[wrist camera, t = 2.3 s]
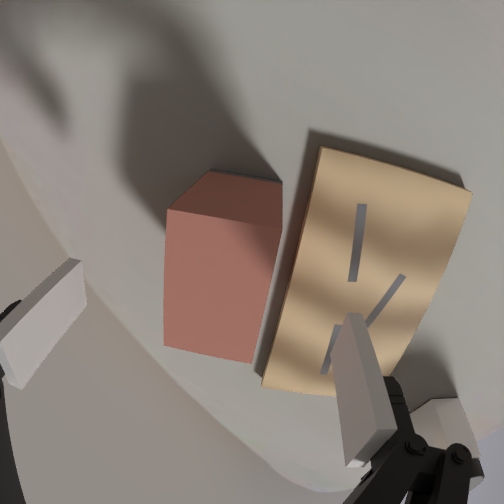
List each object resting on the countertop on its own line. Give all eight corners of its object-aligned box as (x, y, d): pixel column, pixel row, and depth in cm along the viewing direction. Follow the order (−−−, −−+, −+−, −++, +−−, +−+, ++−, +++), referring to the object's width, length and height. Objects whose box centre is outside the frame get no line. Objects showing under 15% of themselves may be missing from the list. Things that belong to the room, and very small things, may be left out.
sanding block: (210, 169, 21) (167, 209, 13) (282, 181, 21) (282, 229, 13) (199, 269, 25) (163, 345, 17) (262, 281, 25) (251, 363, 17)
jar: (399, 409, 31) (420, 495, 20) (461, 386, 29) (492, 466, 18) (401, 441, 34) (415, 513, 24) (454, 422, 32) (476, 490, 22)
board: (320, 145, 20) (322, 147, 19) (465, 188, 20) (473, 192, 19) (261, 378, 30) (261, 387, 29) (373, 390, 30) (375, 398, 28)
